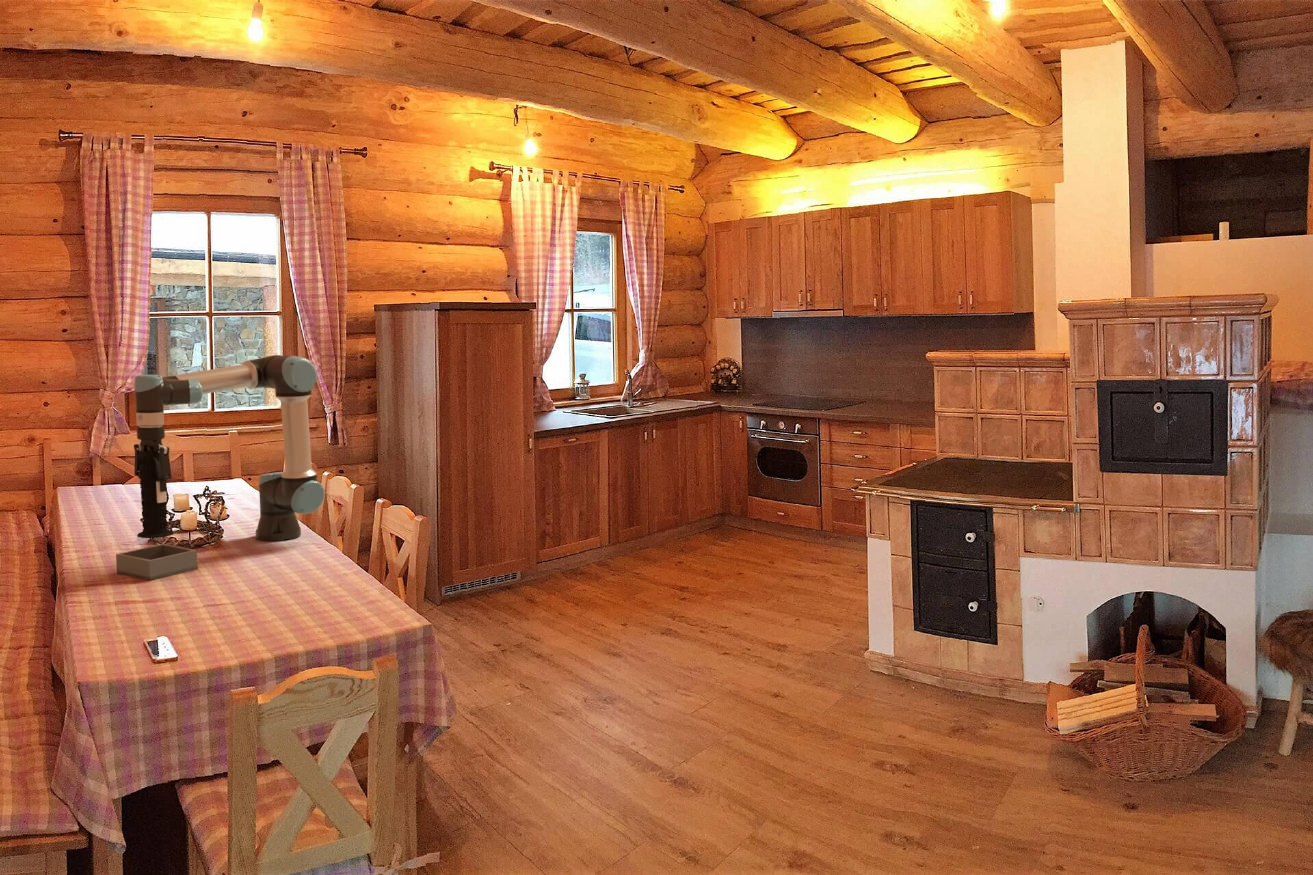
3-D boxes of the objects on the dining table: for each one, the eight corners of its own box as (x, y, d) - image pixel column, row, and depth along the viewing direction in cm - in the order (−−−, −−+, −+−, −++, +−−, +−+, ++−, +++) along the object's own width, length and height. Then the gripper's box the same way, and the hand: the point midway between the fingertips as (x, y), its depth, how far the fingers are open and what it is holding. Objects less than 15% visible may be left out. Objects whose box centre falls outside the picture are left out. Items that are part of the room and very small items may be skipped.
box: (164, 562, 321) (163, 543, 320) (197, 569, 314) (196, 550, 313) (117, 573, 307) (116, 554, 307) (150, 580, 300) (149, 561, 299)
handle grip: (129, 537, 305) (158, 539, 303) (125, 450, 302) (154, 451, 300) (152, 530, 315) (180, 532, 313) (148, 446, 311) (177, 447, 309)
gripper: (118, 424, 306) (122, 499, 309) (160, 429, 297) (163, 506, 300) (141, 422, 313) (144, 495, 316) (182, 427, 303) (186, 502, 306)
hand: (153, 500), depth 308 cm, fingers closed on handle grip, 7 cm apart
